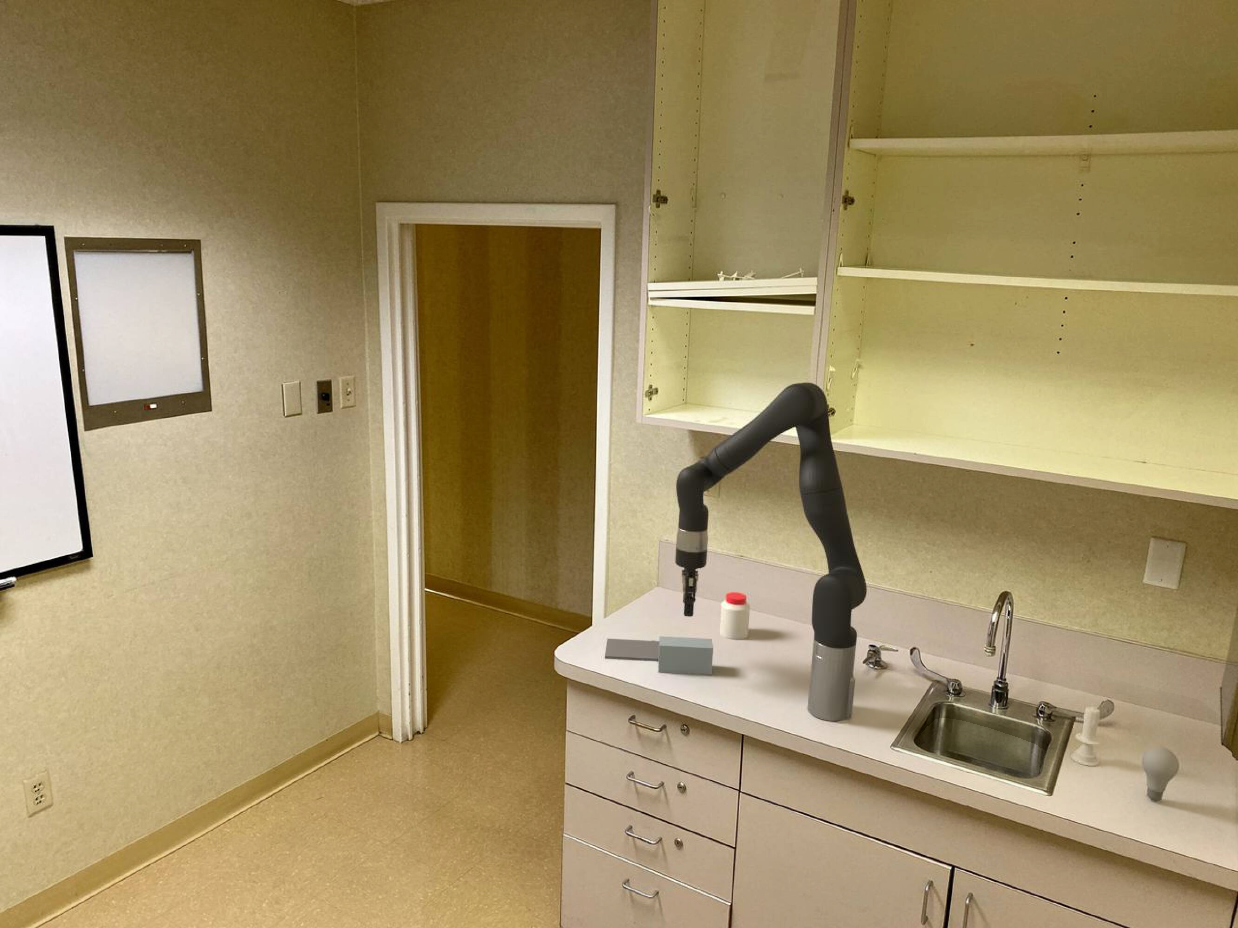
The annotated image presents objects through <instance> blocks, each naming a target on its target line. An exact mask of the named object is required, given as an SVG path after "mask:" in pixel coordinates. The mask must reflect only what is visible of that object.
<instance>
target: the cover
mask: <svg viewBox="0 0 1238 928" xmlns="http://www.w3.org/2000/svg"><path fill="white" fill-rule="evenodd" d="M658 641H659V659H658V661H657V663H658V666H657V668H658V670H657V672H658V673H669V674H671V673H672V674H685V675H687V674H689V675H706V676H707V675H708V676H712V672H713V671H712V670H713V660H714V659H713V654H714V643H713V639H712V638H701V637H700V638H699V637H684V636H683V637H682V636H681V637H680V636H664V635H663V636H662V635H661V636H659V640H658Z"/></svg>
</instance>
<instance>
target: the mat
mask: <svg viewBox="0 0 1238 928" xmlns="http://www.w3.org/2000/svg"><path fill="white" fill-rule="evenodd" d="M604 659H611V660H612V659H615V660H631V661H645V662H646V661H649V662H651V661H652V662H658V659H659V640H645V639H644V640H643V639H642V640H641V639H626V638H625V639H622V638H621V639H620V638H607V639H606V646H605V652H604Z"/></svg>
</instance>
